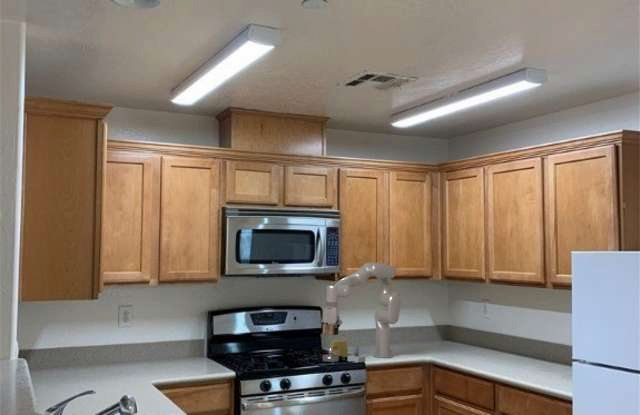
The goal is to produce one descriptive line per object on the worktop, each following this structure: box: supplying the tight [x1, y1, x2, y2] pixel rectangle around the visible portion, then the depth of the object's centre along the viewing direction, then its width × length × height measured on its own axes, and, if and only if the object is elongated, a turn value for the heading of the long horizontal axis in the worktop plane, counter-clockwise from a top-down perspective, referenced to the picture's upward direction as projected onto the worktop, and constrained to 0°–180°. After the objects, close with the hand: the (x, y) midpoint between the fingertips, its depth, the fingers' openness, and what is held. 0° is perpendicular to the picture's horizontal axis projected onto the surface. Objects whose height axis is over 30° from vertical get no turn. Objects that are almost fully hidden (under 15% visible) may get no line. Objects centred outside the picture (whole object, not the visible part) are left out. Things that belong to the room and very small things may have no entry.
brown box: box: [322, 323, 340, 336], centre depth 386 cm, size 7×7×6 cm
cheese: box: [330, 339, 349, 358], centre depth 405 cm, size 10×11×10 cm
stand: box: [347, 345, 366, 363], centre depth 386 cm, size 8×8×9 cm
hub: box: [322, 346, 340, 363], centre depth 385 cm, size 10×10×8 cm
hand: (330, 333), depth 385 cm, fingers closed on brown box, 7 cm apart
